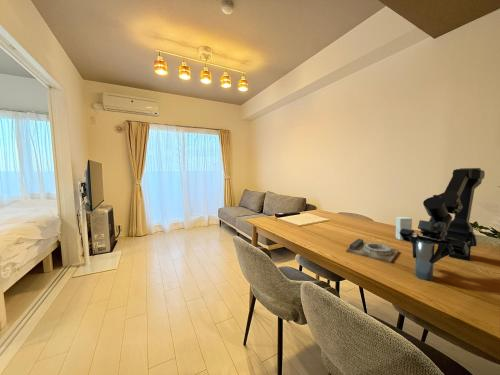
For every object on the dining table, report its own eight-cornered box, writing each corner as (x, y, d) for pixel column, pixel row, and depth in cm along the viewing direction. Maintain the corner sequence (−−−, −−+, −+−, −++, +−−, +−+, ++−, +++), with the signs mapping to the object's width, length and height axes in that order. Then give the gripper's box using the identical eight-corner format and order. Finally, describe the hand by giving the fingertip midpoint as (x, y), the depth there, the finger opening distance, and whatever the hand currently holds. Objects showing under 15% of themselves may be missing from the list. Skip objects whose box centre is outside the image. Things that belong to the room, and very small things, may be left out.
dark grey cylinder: (433, 276, 74) (435, 241, 73) (432, 282, 71) (434, 245, 70) (415, 272, 78) (417, 238, 77) (413, 277, 74) (415, 242, 73)
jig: (398, 251, 97) (399, 245, 97) (390, 263, 86) (391, 256, 85) (357, 242, 110) (357, 237, 109) (346, 251, 98) (346, 245, 98)
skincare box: (406, 237, 116) (407, 216, 115) (411, 240, 112) (412, 218, 111) (395, 237, 117) (395, 216, 116) (399, 240, 112) (400, 218, 111)
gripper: (402, 208, 82) (386, 240, 78) (468, 217, 66) (451, 257, 62) (411, 224, 87) (396, 255, 83) (475, 236, 70) (460, 276, 66)
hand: (422, 260), depth 73 cm, fingers closed on dark grey cylinder, 5 cm apart
